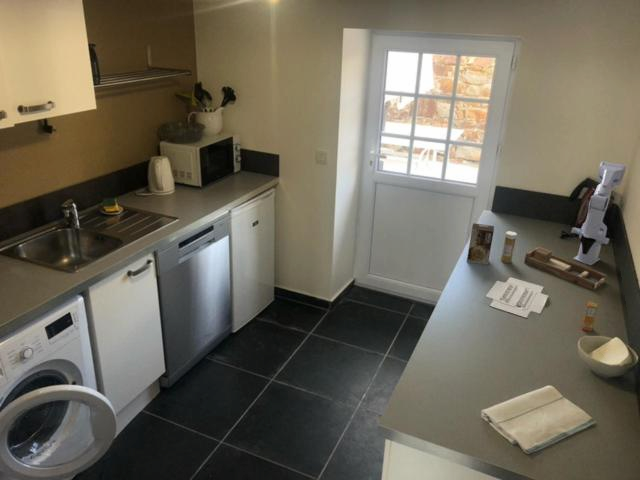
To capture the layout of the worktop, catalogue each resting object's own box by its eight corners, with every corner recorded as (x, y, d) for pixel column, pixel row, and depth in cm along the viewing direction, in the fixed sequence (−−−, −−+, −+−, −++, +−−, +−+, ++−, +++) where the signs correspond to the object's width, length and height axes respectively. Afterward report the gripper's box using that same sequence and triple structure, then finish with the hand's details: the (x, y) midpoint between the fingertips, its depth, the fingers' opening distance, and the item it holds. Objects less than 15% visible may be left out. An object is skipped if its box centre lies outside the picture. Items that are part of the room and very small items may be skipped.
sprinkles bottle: (513, 261, 234) (519, 233, 229) (506, 264, 232) (512, 236, 226) (505, 257, 238) (510, 230, 232) (498, 259, 235) (503, 232, 230)
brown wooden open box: (536, 255, 241) (538, 246, 239) (604, 281, 220) (607, 272, 219) (524, 262, 234) (526, 253, 232) (592, 290, 214) (595, 280, 212)
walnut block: (539, 255, 236) (541, 247, 234) (550, 259, 233) (552, 251, 231) (533, 258, 233) (535, 250, 231) (544, 263, 230) (546, 254, 228)
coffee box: (488, 259, 235) (495, 225, 229) (487, 265, 230) (494, 231, 223) (467, 255, 238) (473, 222, 231) (466, 261, 232) (471, 227, 226)
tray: (480, 305, 201) (481, 296, 200) (500, 278, 223) (502, 270, 222) (536, 323, 191) (538, 314, 190) (551, 293, 213) (553, 285, 212)
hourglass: (581, 324, 190) (588, 300, 186) (591, 327, 189) (598, 303, 185) (580, 329, 188) (587, 305, 183) (591, 332, 186) (598, 307, 182)
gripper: (571, 220, 219) (563, 249, 225) (607, 231, 210) (598, 262, 215) (578, 216, 224) (571, 245, 229) (614, 227, 214) (605, 257, 220)
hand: (584, 253), depth 223 cm, fingers closed
